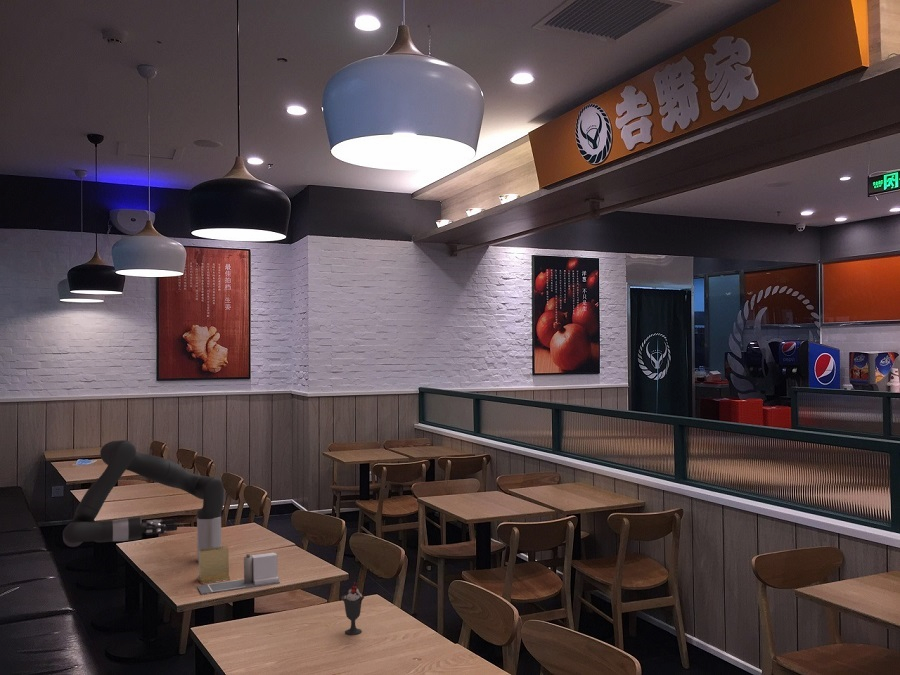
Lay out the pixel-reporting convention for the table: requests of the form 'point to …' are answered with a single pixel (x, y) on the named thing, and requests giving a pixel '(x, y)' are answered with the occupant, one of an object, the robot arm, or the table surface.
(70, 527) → the robot arm
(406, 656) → the table surface
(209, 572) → the brass leaf
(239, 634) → the table surface
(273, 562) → the hinge board
